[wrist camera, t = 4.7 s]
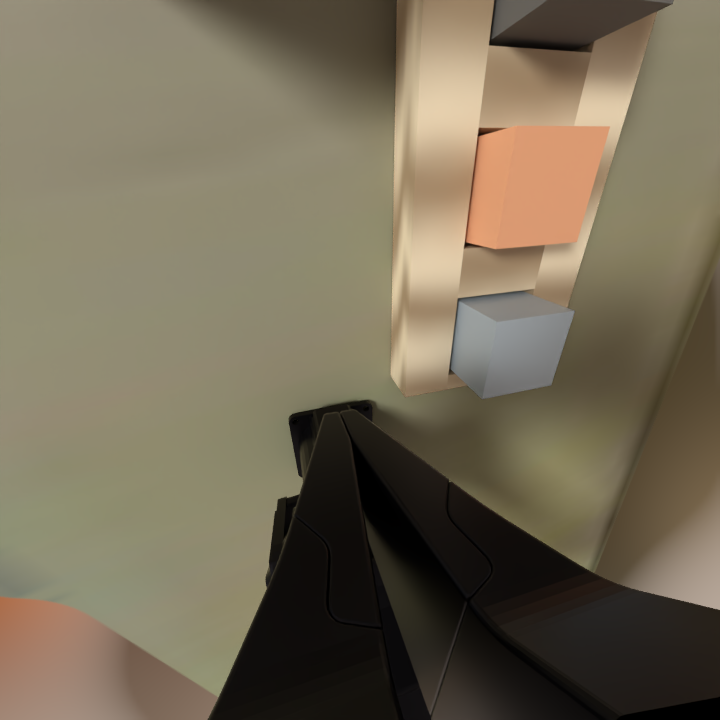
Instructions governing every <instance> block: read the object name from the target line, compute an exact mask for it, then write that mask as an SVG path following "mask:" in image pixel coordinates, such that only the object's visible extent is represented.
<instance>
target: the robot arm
mask: <svg viewBox="0 0 720 720" xmlns="http://www.w3.org/2000/svg"><path fill="white" fill-rule="evenodd" d="M365 406H367V407H366V408H364V407H365ZM295 419H297V420H298V421H293V420H295ZM289 426H290V431H291V437H292V442H293V447H294V453H295V458H296V463H297V469H298V474H299V476H300V477H303V485H302V488H301V491H300V494H299V495H296V496H292V497H289V498H287V497H284V498H281V499H278V504H277V511H275V516H274V525H273V533H272V541H271V550H270V558H269V568H268V571H267V574H266V587H267V590H266V592H265V594H264V597H263V599H262V601H261V603H260V606H259V608H258V610H257V612H256V615H255V617H254V619H253V622H252V624H251V626H250V628H249V631H248V633H247V635H246V637H245V640H244V642H243V644H242V646H241V649H240V651H239V653H238V655H237V658H236V660H235V662H234V665H233V667H232V669H231V671H230V674H229V676H228V678H227V680H226V683H225V685H224V687H223V689H222V691H221V693H220V695H219V698H218V700H217V702H216V704H215V706H214V708H213V710H212V712H211V714H210V716H209V718H208V720H720V610H718V609H713V608H709V607H705V606H701V605H696V604H693V603H689V602H684V601H680V600H676V599H672V598H668V597H664V596H659V595H655V594H651V593H647V592H643V591H639V590H635V589H631V588H628V587H625V586H622V585H620V584H617V583H614V582H612V581H610V580H607V579H605V578H603V577H601V576H599V575H597V574H595V573H593V572H591V571H589V570H587V569H585V568H584V567H582V566H580V565H579V564H577V563H575V562H574V561H572V560H570V559H569V558H567V557H566V556H564V555H562V554H561V553H559V552H558V551H556V550H554V549H553V548H551V547H549V546H548V545H546V544H545V543H543V542H541V541H540V540H538V539H537V538H535V537H533V536H532V535H530V534H528V533H527V532H525V531H524V530H522V529H520V528H519V527H517V526H516V525H514V524H512V523H511V522H509V521H508V520H506V519H505V518H503V517H502V516H500V515H498V514H497V513H495V512H494V511H492V510H491V509H489V508H488V507H486V506H485V505H483V504H482V503H480V502H479V501H478V500H476V499H475V498H473V497H472V496H471V495H469V494H468V493H466V492H465V491H464V490H462V489H461V488H460V487H458V486H457V485H456V484H454V483H453V482H449V479H447V478H446V477H445V476H443V475H442V474H441V473H439V472H438V471H437V470H435V469H434V468H433V467H431V466H430V465H429V464H427V463H426V462H425V461H423V460H422V459H421V458H419V457H418V456H417V455H415V454H414V453H413V452H411V451H410V450H409V449H407V448H406V447H405V446H403V445H402V444H401V443H399V442H398V441H397V440H395V439H394V438H392V437H391V436H390V435H388V434H387V433H386V432H384V431H383V430H382V429H380V428H379V427H378V426H376V425H375V424H374V423H372V405H371V403H370V402H369V401H360V402H354V403H349V404H343V405H337V406H332V407H326V408H321V409H316V410H311V411H306V412H301V413H295V414H292V415H291V416H290V417H289Z"/></svg>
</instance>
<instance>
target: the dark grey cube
mask: <svg viewBox="0 0 720 720" xmlns="http://www.w3.org/2000/svg"><path fill="white" fill-rule="evenodd" d="M673 1H674V0H494V6H493V14H492V23H491V31H490V39H489V46H503V47H517V48H531V49H545V50H559V51H575V50H577V49H579V48H581V47H583V46H585V45H587V44H589V43H591V42H594V41H596V40H598V39H600V38H602V37H604V36H606V35H608V34H610V33H612V32H615V31H617V30H619V29H621V28H623V27H625V26H627V25H629V24H631V23H633V22H636V21H638V20H640V19H642V18H644V17H646V16H648V15H650V14H652V13H654V12H657V11H659V10H661V9H663V8H665V7H667V6H669V5H671V4H673Z"/></svg>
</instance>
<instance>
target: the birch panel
mask: <svg viewBox="0 0 720 720" xmlns="http://www.w3.org/2000/svg"><path fill="white" fill-rule="evenodd" d="M493 6H494V0H397V24H396V85H395V146H394V207H393V268H392V329H391V377H392V379H393V380H394V381H395V383H396V384H397V386H398V387H399V389H400V390H401V392H402V393H403V395H404V396H405V397H410V396H415V395H420V394H426V393H431V392H436V391H441V390H447V389H452V388H457V387H463V386H468V385H467V384H466V383H465V382H464V381H462V380H461V379H460V378H459V377H458V376H457V375H456V374H455V373H454V372H453V371H452V370H451V369H450V368H449V365H450V357H451V349H452V341H453V333H454V325H455V316H456V308H457V300H458V298H464V297H472V296H480V295H488V294H497V293H505V292H513V291H523V292H526V293H529V294H531V295H534V296H537V297H539V298H542V299H545V300H547V301H550V302H553V303H555V304H558V305H561V306H563V307H566V308H567V307H568V304H569V300H570V297H571V294H572V291H573V287H574V284H575V281H576V277H577V274H578V271H579V268H580V264H581V261H582V258H583V254H584V251H585V248H586V245H587V241H588V238H589V235H590V231H591V228H592V225H593V221H594V218H595V215H596V212H597V208H598V205H599V202H600V198H601V195H602V192H603V189H604V185H605V182H606V179H607V175H608V172H609V169H610V166H611V162H612V159H613V156H614V152H615V149H616V146H617V143H618V139H619V136H620V133H621V129H622V126H623V123H624V120H625V116H626V113H627V110H628V106H629V103H630V100H631V96H632V93H633V90H634V87H635V83H636V80H637V77H638V73H639V70H640V67H641V64H642V60H643V57H644V54H645V50H646V47H647V44H648V41H649V37H650V34H651V31H652V27H653V24H654V21H655V18H656V14H657V12H654V13H652V14H650V15H648V16H646V17H644V18H642V19H640V20H638V21H636V22H633V23H631V24H629V25H627V26H625V27H623V28H621V29H619V30H617V31H615V32H612V33H610V34H608V35H606V36H604V37H602V38H600V39H598V40H596V41H594V42H591V43H589V44H587V45H585V46H583V47H581V48H579V49H577V50H575V51H559V50H545V49H531V48H517V47H503V46H489V39H490V31H491V23H492V14H493ZM513 126H610V129H609V133H608V136H607V140H606V143H605V146H604V150H603V153H602V157H601V160H600V164H599V167H598V171H597V174H596V178H595V181H594V185H593V188H592V191H591V195H590V198H589V202H588V205H587V209H586V212H585V216H584V219H583V223H582V226H581V230H580V233H579V236H578V240H577V242H572V243H561V244H549V245H538V246H526V247H515V248H503V249H493V248H488V247H484V246H480V245H476V244H471V243H467V242H465V235H466V227H467V218H468V210H469V202H470V194H471V186H472V178H473V169H474V161H475V153H476V145H477V137H478V136H482V135H485V134H489V133H492V132H496V131H499V130H503V129H506V128H510V127H513Z"/></svg>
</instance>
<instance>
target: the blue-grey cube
mask: <svg viewBox="0 0 720 720" xmlns="http://www.w3.org/2000/svg"><path fill="white" fill-rule="evenodd" d="M574 312H575V311H574V310H571V309H569V308H566V307H563V306H561V305H558V304H555V303H553V302H550V301H547V300H545V299H542V298H539V297H537V296H534V295H531V294H529V293H526V292H523V291H513V292H505V293H497V294H488V295H480V296H472V297H464V298H458V300H457V308H456V316H455V325H454V333H453V341H452V349H451V357H450V365H449V368H450V369H451V370H452V371H453V372H454V373H455V374H456V375H457V376H458V377H459V378H460V379H461V380H462V381H464V382H465V383H466V384H467V385H468V386H469V387H470V388H471V389H472V390H473V391H474V392H475V393H476V394H477V395H478V396H479V397H480V398H481V399H486V398H491V397H496V396H501V395H506V394H511V393H516V392H521V391H526V390H531V389H536V388H540V387H545V386H550V385H551V384H552V381H553V378H554V375H555V372H556V369H557V366H558V362H559V359H560V356H561V353H562V350H563V347H564V344H565V340H566V337H567V334H568V331H569V328H570V325H571V322H572V318H573V315H574Z"/></svg>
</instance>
